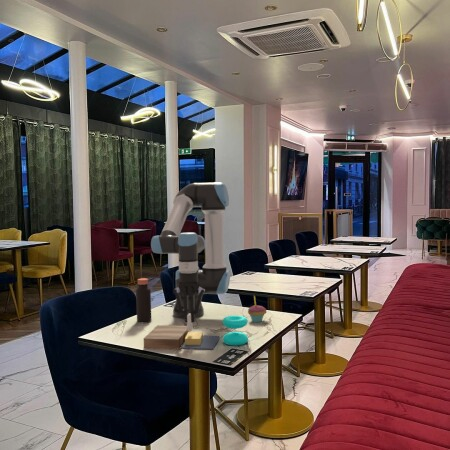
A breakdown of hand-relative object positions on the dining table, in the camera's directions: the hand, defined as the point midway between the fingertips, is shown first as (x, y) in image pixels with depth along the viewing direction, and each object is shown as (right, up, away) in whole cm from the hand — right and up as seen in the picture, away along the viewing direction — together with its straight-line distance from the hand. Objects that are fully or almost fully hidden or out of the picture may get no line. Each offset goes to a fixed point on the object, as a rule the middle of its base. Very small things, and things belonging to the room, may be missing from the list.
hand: (190, 330), depth 184 cm
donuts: (+18, -5, -1) cm, 19 cm away
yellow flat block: (+2, -4, 0) cm, 5 cm away
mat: (+4, -5, 0) cm, 7 cm away
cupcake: (+29, -3, +30) cm, 42 cm away
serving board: (-9, -5, +2) cm, 11 cm away
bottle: (-24, -4, +34) cm, 42 cm away
